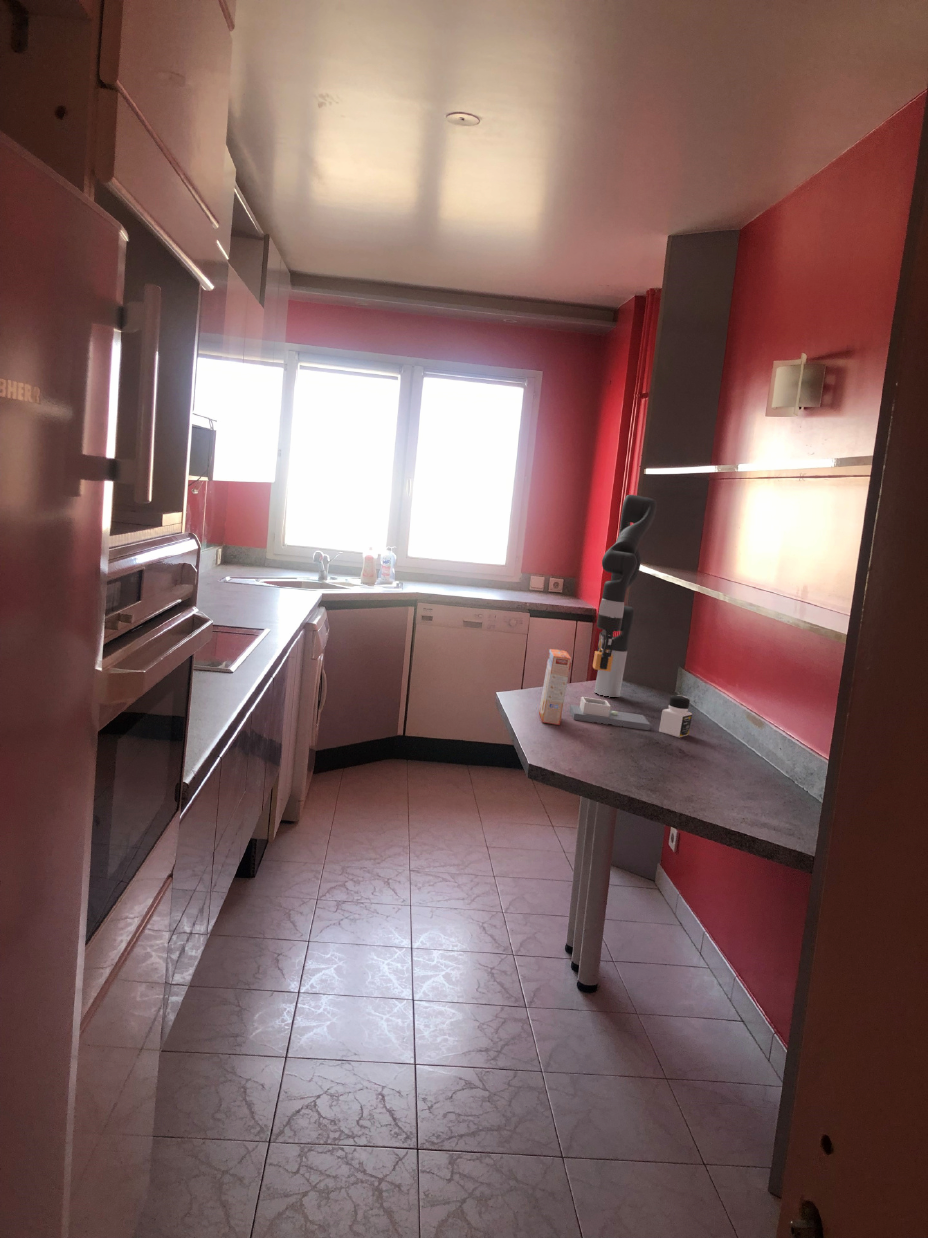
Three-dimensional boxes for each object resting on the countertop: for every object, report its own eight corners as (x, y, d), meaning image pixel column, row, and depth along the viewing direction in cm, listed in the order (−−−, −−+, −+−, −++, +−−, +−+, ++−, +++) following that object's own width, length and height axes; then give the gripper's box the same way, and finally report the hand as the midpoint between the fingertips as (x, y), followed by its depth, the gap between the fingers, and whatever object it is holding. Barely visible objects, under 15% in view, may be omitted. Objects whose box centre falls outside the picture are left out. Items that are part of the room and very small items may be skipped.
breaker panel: (569, 710, 293) (571, 694, 292) (641, 721, 293) (644, 704, 292) (573, 719, 281) (576, 702, 280) (649, 730, 281) (652, 713, 281)
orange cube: (592, 666, 287) (595, 651, 287) (607, 668, 287) (610, 653, 287) (594, 669, 282) (597, 653, 282) (610, 671, 282) (613, 656, 282)
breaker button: (587, 707, 288) (588, 701, 288) (599, 708, 289) (600, 702, 288) (589, 710, 284) (590, 703, 284) (601, 711, 285) (602, 705, 284)
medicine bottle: (679, 737, 277) (686, 700, 276) (658, 731, 282) (665, 694, 280) (688, 735, 283) (695, 698, 282) (667, 729, 287) (674, 692, 286)
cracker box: (561, 726, 270) (572, 658, 267) (541, 723, 270) (552, 655, 267) (557, 715, 284) (567, 650, 281) (538, 712, 284) (548, 647, 281)
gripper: (595, 610, 290) (586, 661, 292) (602, 615, 275) (593, 669, 278) (618, 613, 290) (609, 664, 292) (626, 619, 275) (617, 673, 278)
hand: (601, 667), depth 285 cm, fingers closed on orange cube, 5 cm apart
